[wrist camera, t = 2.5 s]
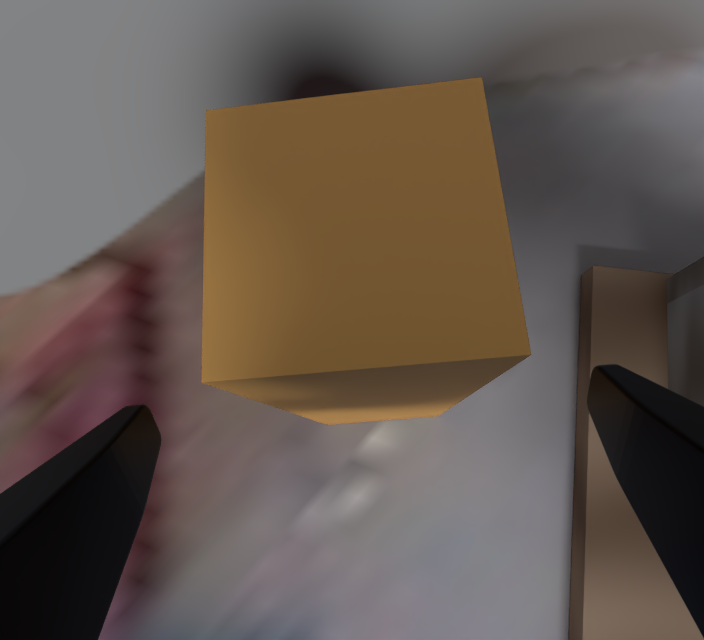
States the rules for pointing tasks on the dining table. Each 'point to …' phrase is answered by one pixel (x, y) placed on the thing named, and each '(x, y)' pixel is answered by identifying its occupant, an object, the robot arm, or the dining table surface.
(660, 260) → the dining table surface
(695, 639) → the keeper
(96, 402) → the dining table surface
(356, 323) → the block
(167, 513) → the dining table surface
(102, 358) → the dining table surface
